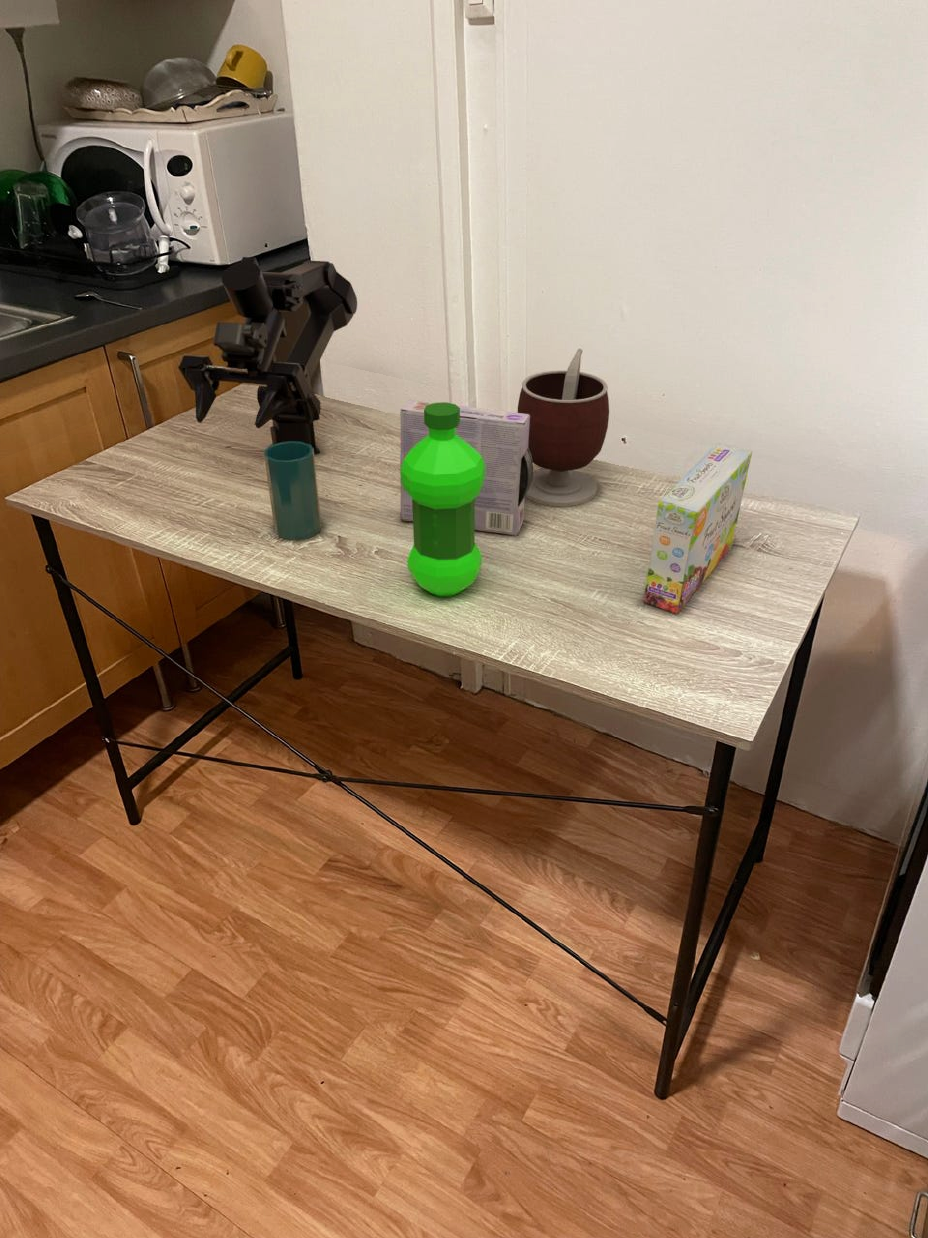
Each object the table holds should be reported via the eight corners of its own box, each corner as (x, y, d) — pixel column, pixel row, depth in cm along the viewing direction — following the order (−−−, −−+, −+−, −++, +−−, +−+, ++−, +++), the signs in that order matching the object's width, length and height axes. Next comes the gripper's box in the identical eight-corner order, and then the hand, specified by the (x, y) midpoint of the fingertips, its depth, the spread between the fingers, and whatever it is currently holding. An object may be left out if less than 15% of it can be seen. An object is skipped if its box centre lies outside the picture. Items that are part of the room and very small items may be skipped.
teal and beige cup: (311, 513, 140) (302, 437, 133) (328, 533, 135) (320, 455, 128) (268, 524, 138) (257, 447, 131) (284, 544, 133) (274, 465, 126)
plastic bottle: (431, 558, 129) (426, 387, 115) (497, 579, 125) (501, 403, 110) (391, 592, 122) (381, 414, 108) (459, 615, 118) (458, 432, 103)
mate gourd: (590, 515, 140) (600, 388, 128) (503, 500, 144) (506, 376, 132) (612, 472, 152) (624, 353, 140) (532, 460, 156) (537, 343, 144)
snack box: (682, 617, 117) (698, 512, 109) (640, 604, 120) (654, 500, 111) (735, 545, 132) (754, 448, 123) (698, 535, 134) (714, 439, 126)
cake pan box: (531, 522, 138) (536, 410, 128) (524, 538, 134) (529, 424, 124) (409, 507, 142) (405, 397, 132) (399, 522, 138) (394, 410, 128)
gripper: (180, 297, 134) (145, 382, 128) (300, 305, 130) (270, 393, 124) (208, 349, 144) (177, 430, 138) (321, 358, 140) (293, 442, 134)
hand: (227, 423), depth 133 cm, fingers open, 9 cm apart
